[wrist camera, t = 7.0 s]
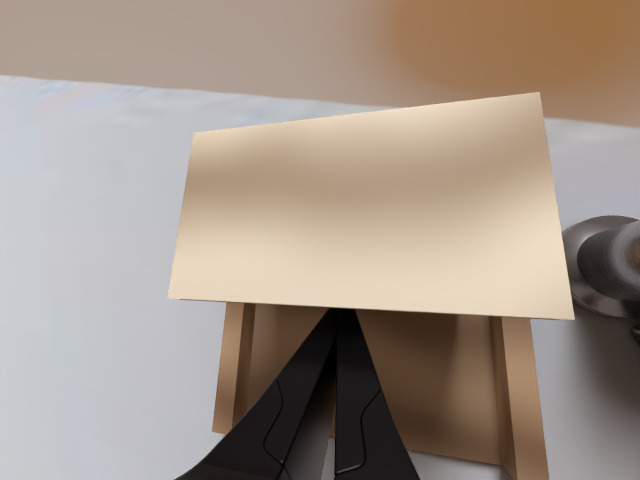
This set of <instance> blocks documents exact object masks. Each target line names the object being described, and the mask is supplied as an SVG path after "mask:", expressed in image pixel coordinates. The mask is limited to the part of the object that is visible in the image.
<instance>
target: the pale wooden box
mask: <svg viewBox="0 0 640 480" xmlns="http://www.w3.org/2000/svg"><path fill="white" fill-rule="evenodd" d="M168 298H173V299H180V300H198V301H216V302H235V303H253V304H272V305H291V306H309V307H328V308H346V309H365V310H384V311H402V312H421V313H439V314H458V315H477V316H495V317H514V318H532V319H551V320H560V319H570V320H575V317H574V311H573V304H572V298H571V291H570V285H569V279H568V272H567V266H566V259H565V253H564V246H563V240H562V233H561V227H560V220H559V214H558V207H557V201H556V194H555V188H554V182H553V175H552V169H551V162H550V156H549V149H548V143H547V136H546V130H545V123H544V117H543V111H542V104H541V97H540V92H536V93H527V94H519V95H510V96H502V97H493V98H485V99H476V100H468V101H459V102H451V103H442V104H435V105H425V106H416V107H408V108H399V109H391V110H382V111H374V112H365V113H357V114H348V115H340V116H331V117H323V118H314V119H306V120H297V121H289V122H280V123H272V124H263V125H255V126H246V127H238V128H229V129H221V130H212V131H204V132H195V133H194V134H193V141H192V147H191V153H190V160H189V166H188V172H187V178H186V185H185V191H184V197H183V204H182V210H181V216H180V222H179V229H178V235H177V241H176V248H175V254H174V260H173V267H172V273H171V279H170V285H169V292H168Z"/></svg>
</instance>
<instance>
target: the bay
mask: <svg viewBox="0 0 640 480" xmlns="http://www.w3.org/2000/svg"><path fill="white" fill-rule="evenodd" d="M328 309H329V308H328V307H309V306H291V305H272V304H253V303H235V302H227V304H226V313H225V321H224V330H223V339H222V348H221V357H220V366H219V375H218V384H217V393H216V401H215V410H214V419H213V428H212V432H216V433H222V434H227V433H228V432H229V431H230V430H231V429H232V428H233V427H234V426H235V425H236V424H237V423H238V422H239V421H240V419H241V418H242V417H243V416H244V415H245V414H246V413H247V412H248V411H249V410H250V408H251V407H252V406H253V405H254V404H255V403H256V402H257V401H258V399H259V398H260V397H261V396H262V394H263V393H264V392H265V391H266V389H267V388H268V387H269V386H270V384H271V383H272V382H273V380H274V379H275V378H277V375H278V374H279V373H280V371H281V370H282V369H283V367H284V366H285V365H286V363H287V362H288V361H289V360H290V358H291V357H292V356H293V354H294V353H295V352H296V350H297V349H298V348H299V346H300V345H301V344H302V343H303V341H304V340H305V339H306V337H307V336H308V335H309V333H310V332H311V331H312V329H313V328H314V327H315V326H316V324H317V323H318V322H319V320H320V319H321V318H322V316H323V315H324V314H325V312H326V311H327V310H328ZM356 312H357V315H358V318H359V321H360V324H361V327H362V330H363V333H364V336H365V339H366V342H367V345H368V348H369V351H370V354H371V357H372V360H373V363H374V366H375V369H376V372H377V375H378V378H379V381H380V384H381V387H382V391H383V393H384V396H385V399H386V402H387V405H388V407H389V410H390V413H391V415H392V418H393V421H394V423H395V425H396V428H397V430H398V432H399V435H400V437H401V439H402V442H403V444H404V446H405V448H406V449H407V450H413V451H419V452H425V453H431V454H437V455H443V456H449V457H455V458H461V459H466V460H472V461H478V462H484V463H490V464H496V465H502V466H503V467H504V469H505V470H506V472H507V473H508V474H509V476H510V477H511V479H512V480H549V474H548V466H547V458H546V449H545V441H544V433H543V424H542V416H541V408H540V400H539V391H538V383H537V375H536V366H535V358H534V350H533V341H532V333H531V325H530V318H514V317H495V316H477V315H458V314H439V313H421V312H402V311H384V310H365V309H356ZM335 412H336V402H335V407H334V413H333V418H332V423H331V428H330V433H329V436H331V437H335Z"/></svg>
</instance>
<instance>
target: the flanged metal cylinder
mask: <svg viewBox="0 0 640 480" xmlns="http://www.w3.org/2000/svg"><path fill="white" fill-rule="evenodd" d="M562 240H563V246H564V253H565V259H566V266H567V272H568V279H569V285H570V291H571V298H572V301H573V302H574V303H576V304H577V305H579V306H581V307H582V308H584V309H586V310H589V311H591V312H594V313H597V314H600V315H605V316H612V317H623V318H640V220H637V219H634V218H629V217H624V216H600V217H595V218H591V219H588V220H585V221H583V222H580V223H577V224H575V225H573V226H571V227H569V228H567V229H566V230H565V231H563V232H562Z"/></svg>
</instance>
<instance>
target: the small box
mask: <svg viewBox="0 0 640 480" xmlns="http://www.w3.org/2000/svg"><path fill="white" fill-rule="evenodd" d="M633 334H634V336H635V338H636V339H637V340H638V343H639V344H640V326H638V327H634V328H633Z"/></svg>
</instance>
